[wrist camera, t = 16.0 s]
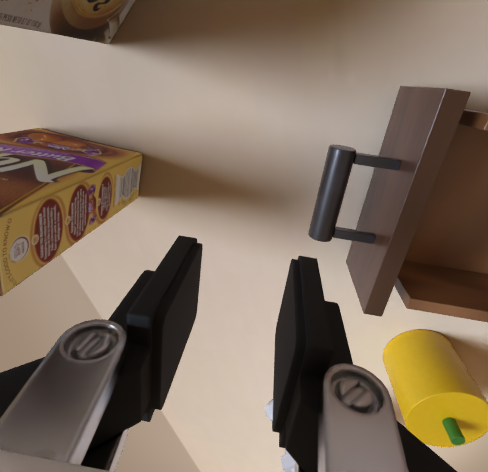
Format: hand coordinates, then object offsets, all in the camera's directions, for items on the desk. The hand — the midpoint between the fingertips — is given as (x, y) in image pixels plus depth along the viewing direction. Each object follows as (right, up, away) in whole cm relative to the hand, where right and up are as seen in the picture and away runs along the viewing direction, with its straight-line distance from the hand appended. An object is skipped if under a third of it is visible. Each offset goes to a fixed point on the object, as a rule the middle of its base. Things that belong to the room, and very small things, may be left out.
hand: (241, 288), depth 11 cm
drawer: (+15, +5, +14) cm, 21 cm away
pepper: (+17, -10, +22) cm, 29 cm away
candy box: (-13, +8, +17) cm, 23 cm away
